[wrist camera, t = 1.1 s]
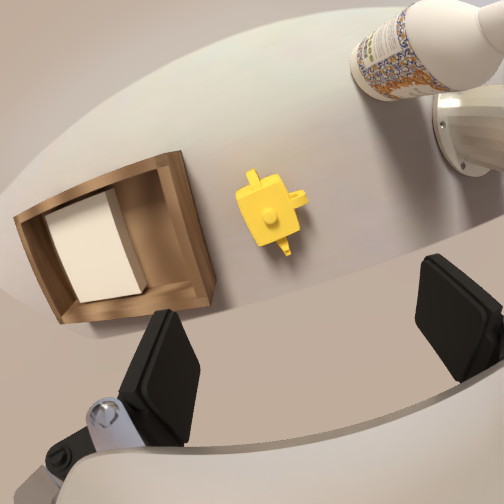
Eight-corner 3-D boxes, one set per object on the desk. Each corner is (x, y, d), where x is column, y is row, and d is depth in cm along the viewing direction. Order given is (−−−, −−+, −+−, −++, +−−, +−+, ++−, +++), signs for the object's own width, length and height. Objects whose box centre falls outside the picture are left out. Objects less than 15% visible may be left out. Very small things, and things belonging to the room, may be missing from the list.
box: (180, 150, 24) (165, 153, 20) (216, 279, 30) (210, 305, 25) (38, 205, 26) (13, 217, 21) (77, 303, 31) (60, 324, 27)
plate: (113, 187, 25) (104, 191, 23) (147, 283, 29) (141, 293, 27) (54, 211, 25) (44, 216, 23) (87, 294, 29) (80, 302, 28)
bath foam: (354, 101, 22) (522, 69, 4) (341, 39, 20) (464, -60, 1) (411, 103, 22) (574, 103, 4) (399, 45, 19) (538, -6, 1)
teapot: (314, 226, 28) (327, 245, 23) (262, 248, 28) (264, 271, 24) (284, 153, 25) (292, 156, 20) (228, 177, 26) (223, 186, 21)
